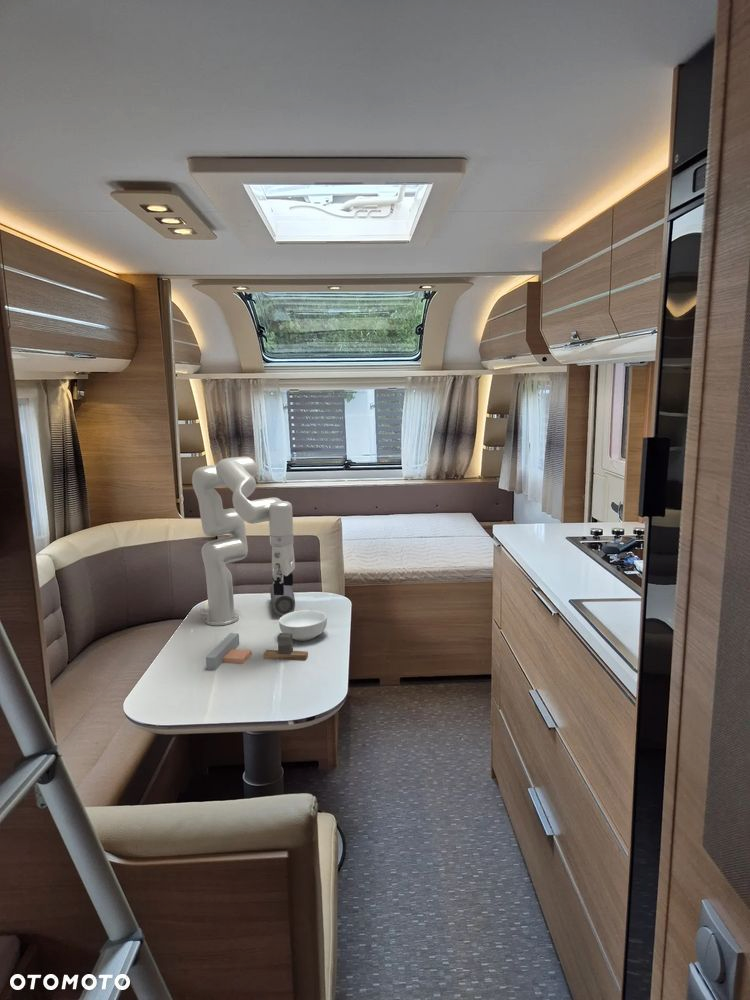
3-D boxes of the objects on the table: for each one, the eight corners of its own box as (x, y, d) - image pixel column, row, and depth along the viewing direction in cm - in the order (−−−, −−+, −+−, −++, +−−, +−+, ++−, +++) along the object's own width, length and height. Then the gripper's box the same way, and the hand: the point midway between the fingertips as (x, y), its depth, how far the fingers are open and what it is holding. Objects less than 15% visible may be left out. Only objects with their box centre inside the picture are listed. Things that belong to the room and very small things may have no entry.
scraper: (305, 661, 194) (304, 637, 193) (264, 659, 196) (262, 635, 195) (308, 657, 197) (307, 633, 196) (267, 655, 199) (265, 632, 198)
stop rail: (206, 669, 189) (205, 657, 189) (231, 644, 209) (230, 633, 208) (215, 669, 189) (214, 657, 188) (239, 644, 208) (238, 633, 208)
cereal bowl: (304, 624, 226) (303, 606, 224) (337, 634, 215) (336, 615, 214) (270, 638, 213) (268, 619, 212) (302, 650, 202) (301, 630, 201)
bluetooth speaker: (297, 617, 233) (296, 592, 231) (273, 620, 231) (271, 595, 229) (292, 599, 255) (291, 576, 253) (270, 601, 253) (268, 578, 251)
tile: (223, 663, 194) (222, 657, 194) (232, 654, 201) (232, 649, 201) (243, 664, 193) (243, 659, 193) (252, 655, 200) (251, 650, 199)
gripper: (284, 546, 186) (286, 599, 189) (300, 533, 203) (302, 582, 206) (261, 545, 187) (263, 598, 191) (279, 532, 204) (281, 581, 207)
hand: (283, 589), depth 198 cm, fingers open, 9 cm apart
